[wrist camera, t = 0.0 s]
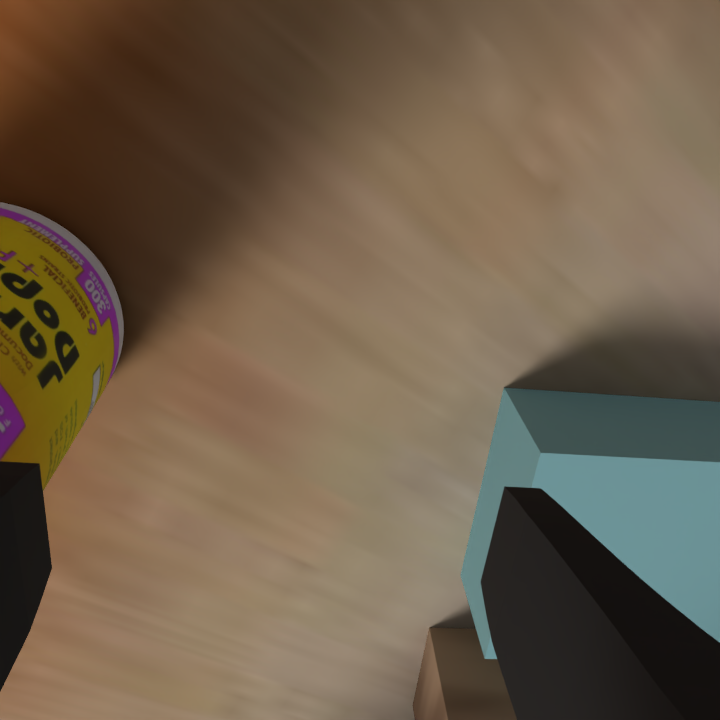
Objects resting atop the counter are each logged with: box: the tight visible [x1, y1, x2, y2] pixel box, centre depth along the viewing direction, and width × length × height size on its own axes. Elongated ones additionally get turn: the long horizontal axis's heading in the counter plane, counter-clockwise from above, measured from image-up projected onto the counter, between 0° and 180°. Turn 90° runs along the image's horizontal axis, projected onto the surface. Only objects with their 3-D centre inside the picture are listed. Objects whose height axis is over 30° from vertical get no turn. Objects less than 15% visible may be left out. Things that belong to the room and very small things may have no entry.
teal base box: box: [461, 388, 720, 659], centre depth 22 cm, size 8×8×4 cm
